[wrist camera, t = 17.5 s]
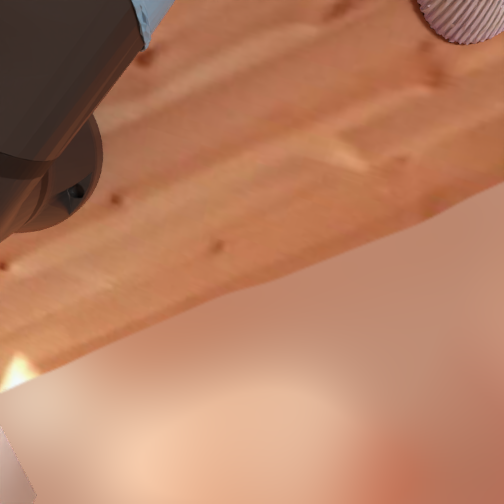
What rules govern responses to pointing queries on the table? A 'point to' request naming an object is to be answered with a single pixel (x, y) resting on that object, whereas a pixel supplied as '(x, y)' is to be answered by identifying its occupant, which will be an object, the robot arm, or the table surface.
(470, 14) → the seashell
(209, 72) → the table surface
